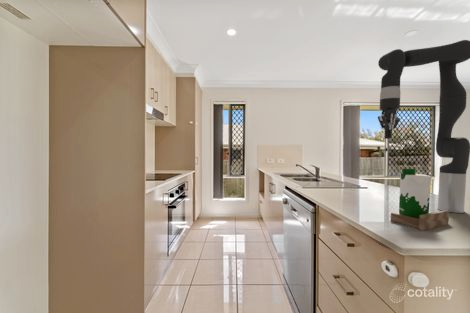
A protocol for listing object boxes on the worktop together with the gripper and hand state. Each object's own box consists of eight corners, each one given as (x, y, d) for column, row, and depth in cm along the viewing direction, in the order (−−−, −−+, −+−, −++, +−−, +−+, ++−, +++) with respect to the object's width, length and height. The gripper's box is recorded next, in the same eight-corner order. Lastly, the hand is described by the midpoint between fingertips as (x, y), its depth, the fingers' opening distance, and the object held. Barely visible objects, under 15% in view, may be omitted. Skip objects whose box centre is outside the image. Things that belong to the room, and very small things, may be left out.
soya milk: (395, 217, 102) (397, 167, 101) (421, 219, 99) (424, 168, 98) (403, 223, 93) (406, 169, 92) (432, 225, 91) (435, 170, 90)
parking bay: (413, 216, 104) (414, 204, 104) (448, 224, 94) (449, 210, 93) (387, 221, 95) (388, 208, 95) (422, 230, 85) (423, 216, 85)
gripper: (389, 95, 103) (387, 137, 104) (407, 98, 109) (405, 139, 110) (372, 98, 109) (370, 138, 110) (390, 101, 116) (388, 139, 116)
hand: (388, 138), depth 110 cm, fingers closed
